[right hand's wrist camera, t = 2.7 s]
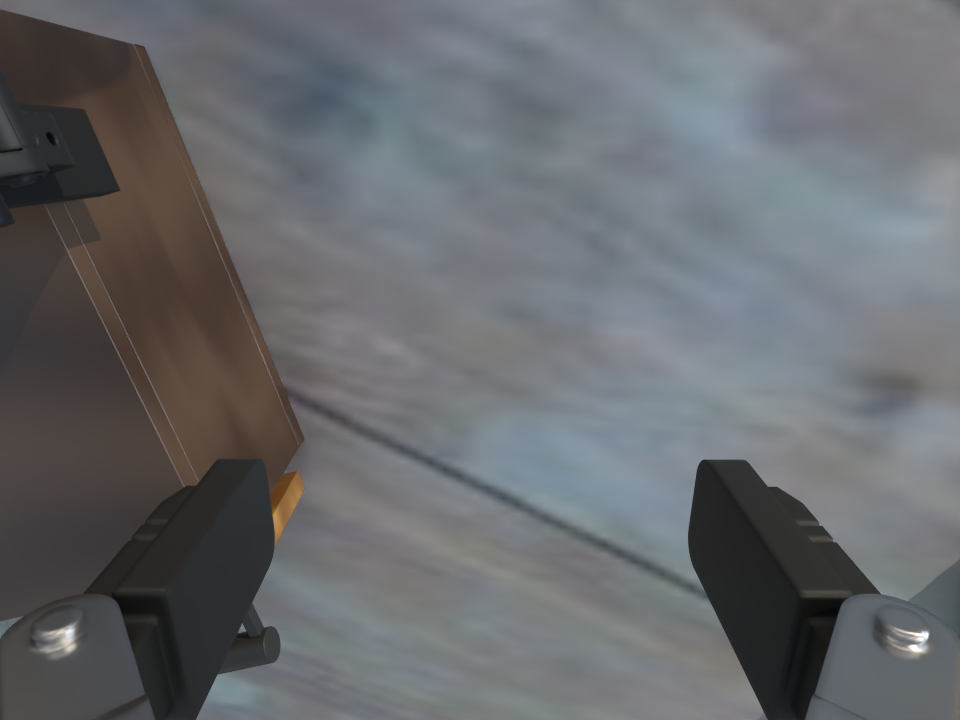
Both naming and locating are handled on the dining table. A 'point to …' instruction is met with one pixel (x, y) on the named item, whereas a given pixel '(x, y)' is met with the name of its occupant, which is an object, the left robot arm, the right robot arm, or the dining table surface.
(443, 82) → the dining table surface
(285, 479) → the drawer
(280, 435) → the cabinet
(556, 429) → the dining table surface
